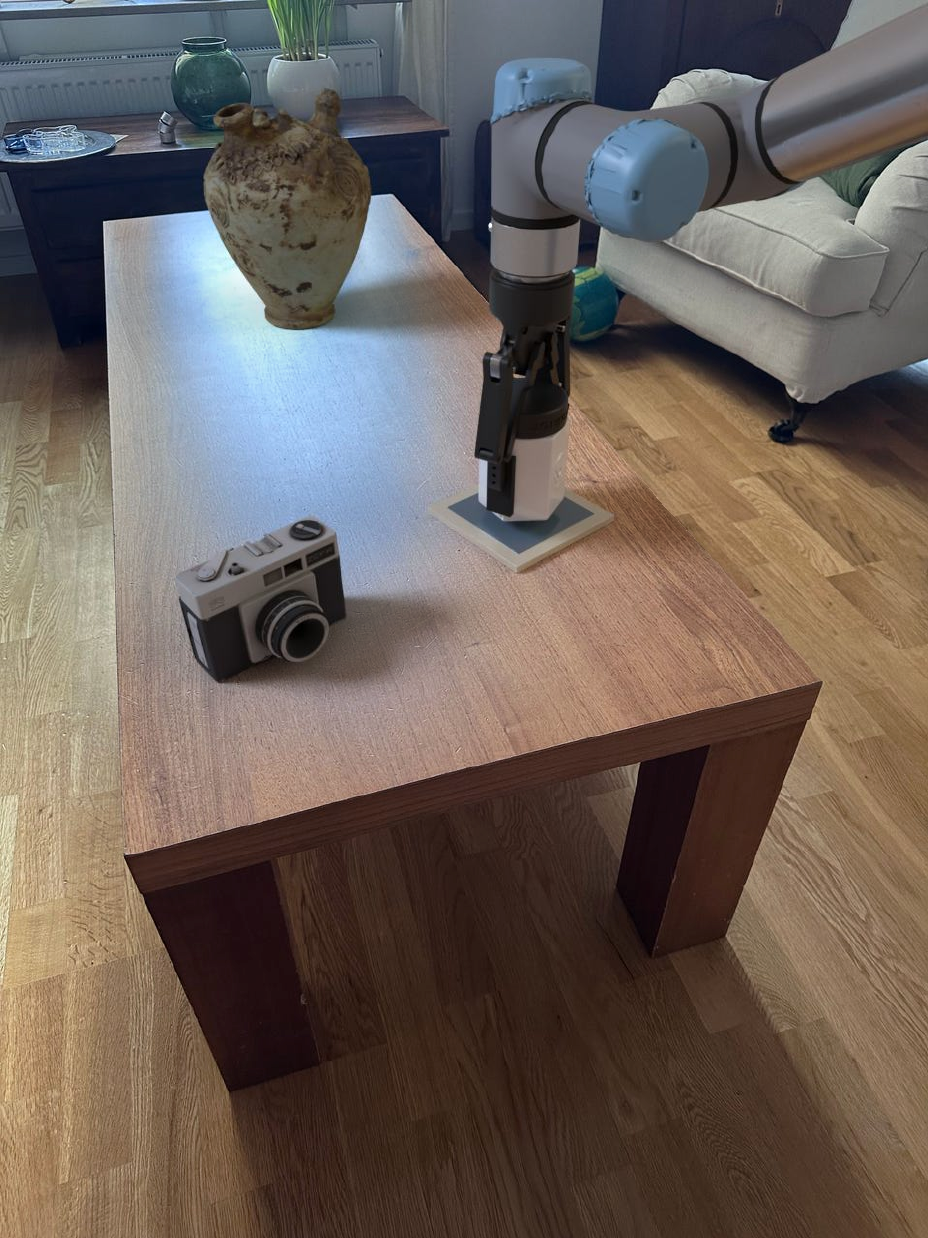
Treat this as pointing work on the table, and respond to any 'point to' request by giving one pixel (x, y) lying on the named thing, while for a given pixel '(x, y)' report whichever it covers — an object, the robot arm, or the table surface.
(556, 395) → the jar
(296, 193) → the vase
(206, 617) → the camera
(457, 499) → the tile
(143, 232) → the table surface
